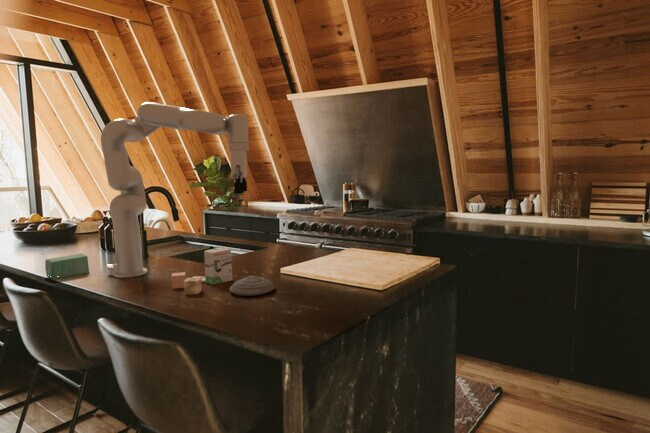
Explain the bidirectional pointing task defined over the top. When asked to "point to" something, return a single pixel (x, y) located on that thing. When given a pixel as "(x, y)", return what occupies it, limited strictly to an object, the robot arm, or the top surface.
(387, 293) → the top surface
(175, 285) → the terracotta block
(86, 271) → the box
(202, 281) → the tile
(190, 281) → the maple block
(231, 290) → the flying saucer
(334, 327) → the top surface
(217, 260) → the ink box
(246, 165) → the robot arm
